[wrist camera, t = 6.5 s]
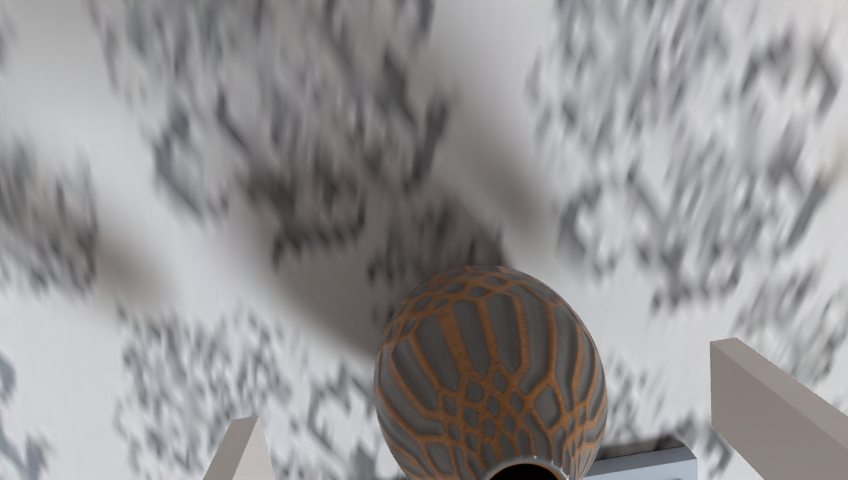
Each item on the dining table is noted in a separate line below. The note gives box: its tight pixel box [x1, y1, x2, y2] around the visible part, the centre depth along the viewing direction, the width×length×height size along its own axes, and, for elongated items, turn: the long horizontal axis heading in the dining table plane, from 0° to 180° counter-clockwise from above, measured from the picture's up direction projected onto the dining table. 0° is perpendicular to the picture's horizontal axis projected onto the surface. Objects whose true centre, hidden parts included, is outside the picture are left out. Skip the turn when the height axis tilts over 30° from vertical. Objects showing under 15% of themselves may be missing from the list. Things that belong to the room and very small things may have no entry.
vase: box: [374, 265, 607, 480], centre depth 17 cm, size 7×7×9 cm
